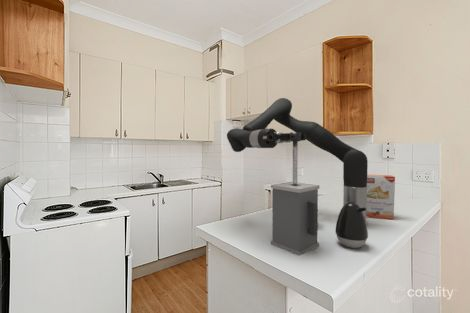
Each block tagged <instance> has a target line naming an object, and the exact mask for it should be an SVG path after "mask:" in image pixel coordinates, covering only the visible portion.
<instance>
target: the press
mask: <svg viewBox="0 0 470 313" xmlns="http://www.w3.org/2000/svg"><path fill="white" fill-rule="evenodd" d="M270 189H272V217H271V218H272V221H271V222H272V227H271V228H272V229H271V230H272V239H271V241H270V245H273V246H275V247H277V248H279V249H282V250H285V251H287V252H289V253H292V254H294V255H296V256H301V255H303V254H305V253H308V252H309V251H312V250H313V249H315V248H317V247H319V246H320V242H318V216H319V215H318V213H319V212H318V211H319V210H318V203H319V202H318V201H319V200H318V199H319V198H318V197H319V191H318V190H319V189H320V185H319V184H313V183H306V182H299V181H297V186H293V181H288V182H287V181H285V182H281V183H275V184H270Z"/></svg>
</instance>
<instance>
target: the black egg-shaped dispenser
mask: <svg viewBox="0 0 470 313" xmlns="http://www.w3.org/2000/svg"><path fill="white" fill-rule="evenodd" d="M362 211H366V208H365V207H364V208H360V207H359V205H358V204H356V203H354V202H348V203H346V204H344V206H343V205H342V206H341V209H340V211H339V213H338V217H337V220H336V222H335V223H336V224H335V235H336V238H337V240H338V242H339V243H340V244H341V245H343V246H345V247H347V248H352V249H358V248H361V247H363V246H364V245H365V244H366V243H367V241H368V240H367V239H368V238H369V232H368V224H367V220H366V221H365V217H364V215H363V212H362Z"/></svg>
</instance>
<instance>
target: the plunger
mask: <svg viewBox="0 0 470 313" xmlns="http://www.w3.org/2000/svg"><path fill="white" fill-rule="evenodd" d="M290 133H291V140H290V141H291V142H292V182H293V186H297V182H298V156H299V155H298V152H299V151H298V147H299V146H298V144H299V143H298V142H301V132H294V131H293V132H290Z"/></svg>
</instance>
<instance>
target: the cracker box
mask: <svg viewBox="0 0 470 313" xmlns="http://www.w3.org/2000/svg"><path fill="white" fill-rule="evenodd" d="M395 184H396V177H395V176H394V175H387V174H385V175H383V174H368V173H367V214H366V218H373V219H384V220H393V221H394V220H395V219H394V216H395V186H396V185H395Z"/></svg>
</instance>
